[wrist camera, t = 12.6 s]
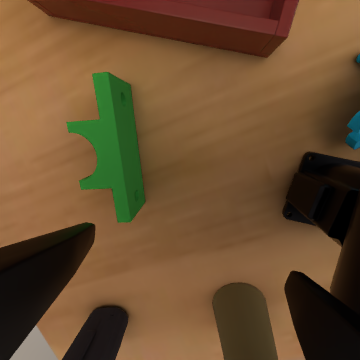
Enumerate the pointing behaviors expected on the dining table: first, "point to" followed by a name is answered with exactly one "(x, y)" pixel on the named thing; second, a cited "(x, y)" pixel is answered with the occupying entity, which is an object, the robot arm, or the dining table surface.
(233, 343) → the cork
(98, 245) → the dining table surface
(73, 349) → the two-way radio
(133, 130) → the pipe clamp
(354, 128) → the blue toy dinosaur
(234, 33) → the open red box
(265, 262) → the dining table surface
